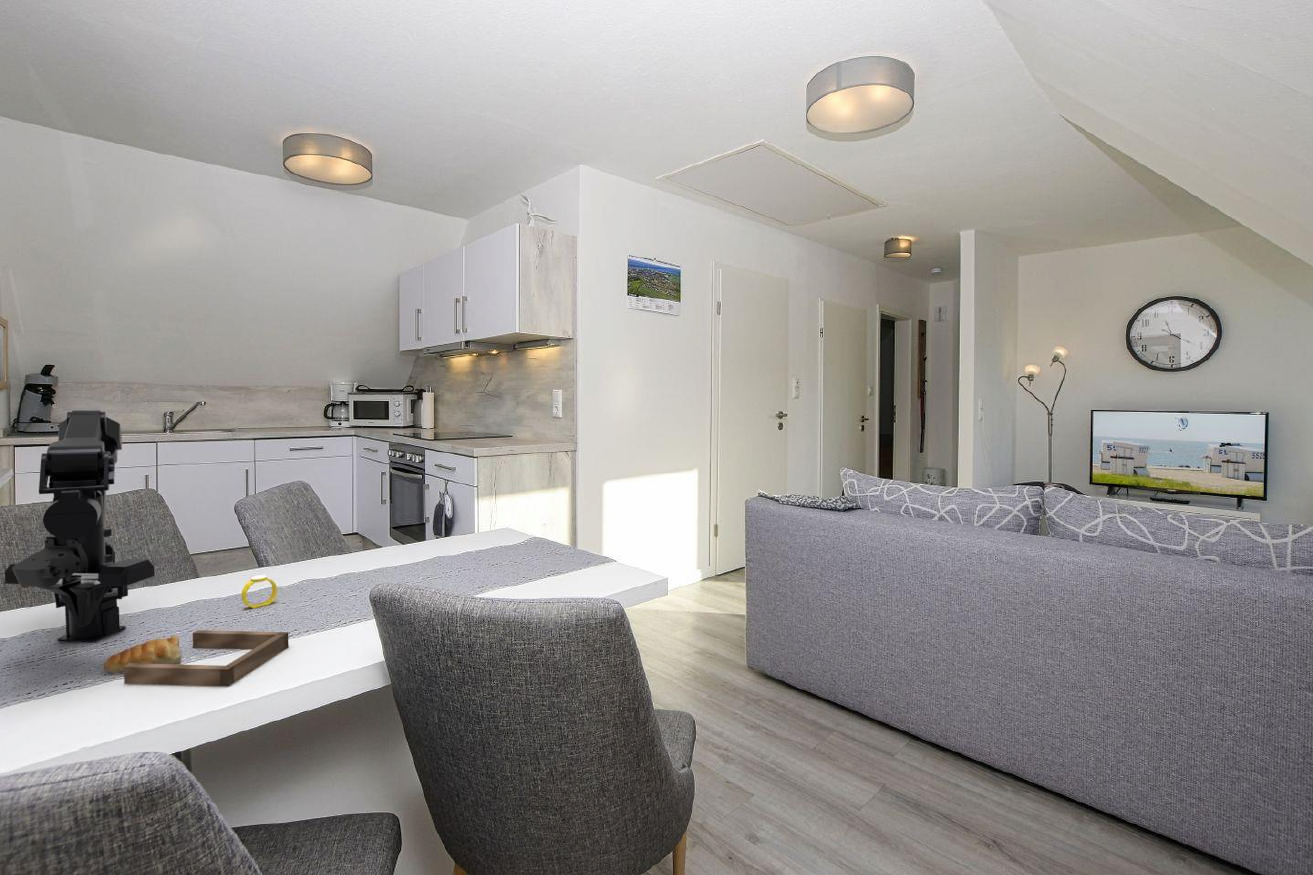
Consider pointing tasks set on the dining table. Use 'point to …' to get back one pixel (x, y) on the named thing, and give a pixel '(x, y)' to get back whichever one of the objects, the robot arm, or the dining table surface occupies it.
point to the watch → (253, 580)
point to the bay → (212, 675)
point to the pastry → (146, 654)
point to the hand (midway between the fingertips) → (83, 625)
